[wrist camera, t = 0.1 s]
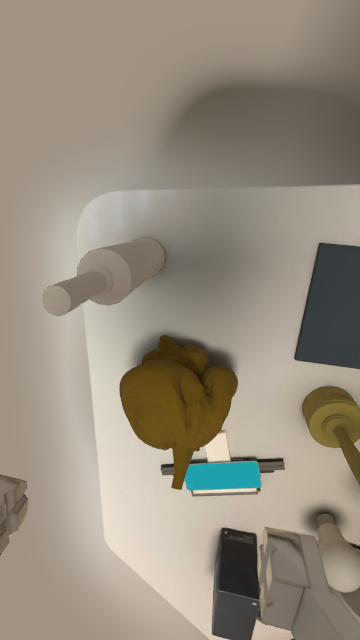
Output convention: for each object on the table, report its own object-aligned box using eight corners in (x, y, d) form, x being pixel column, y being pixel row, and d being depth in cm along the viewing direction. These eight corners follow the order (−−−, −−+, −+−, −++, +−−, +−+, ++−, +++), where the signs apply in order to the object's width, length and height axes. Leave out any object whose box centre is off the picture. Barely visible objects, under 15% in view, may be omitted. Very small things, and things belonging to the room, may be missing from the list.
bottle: (150, 282, 46) (67, 352, 22) (122, 258, 45) (5, 304, 22) (173, 254, 44) (109, 297, 21) (144, 228, 44) (43, 243, 20)
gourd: (195, 428, 52) (185, 499, 39) (120, 379, 51) (83, 434, 38) (248, 364, 48) (256, 420, 34) (167, 310, 47) (143, 345, 34)
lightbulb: (316, 534, 55) (336, 608, 45) (297, 509, 54) (313, 579, 44) (350, 521, 53) (380, 596, 43) (331, 495, 52) (357, 565, 42)
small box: (219, 526, 57) (217, 590, 48) (257, 533, 57) (262, 600, 47) (213, 568, 61) (209, 637, 51) (248, 576, 60) (251, 647, 50)
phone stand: (279, 426, 50) (280, 433, 48) (286, 488, 53) (288, 497, 51) (154, 435, 54) (151, 442, 52) (168, 493, 57) (166, 500, 55)
